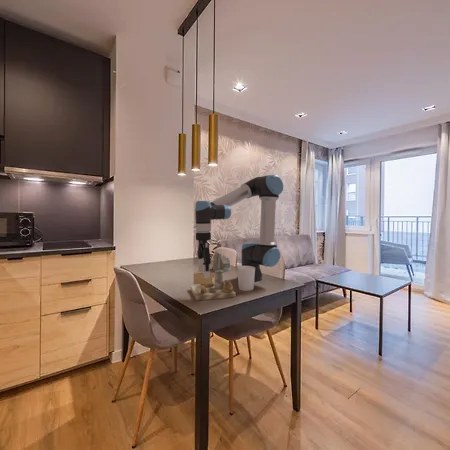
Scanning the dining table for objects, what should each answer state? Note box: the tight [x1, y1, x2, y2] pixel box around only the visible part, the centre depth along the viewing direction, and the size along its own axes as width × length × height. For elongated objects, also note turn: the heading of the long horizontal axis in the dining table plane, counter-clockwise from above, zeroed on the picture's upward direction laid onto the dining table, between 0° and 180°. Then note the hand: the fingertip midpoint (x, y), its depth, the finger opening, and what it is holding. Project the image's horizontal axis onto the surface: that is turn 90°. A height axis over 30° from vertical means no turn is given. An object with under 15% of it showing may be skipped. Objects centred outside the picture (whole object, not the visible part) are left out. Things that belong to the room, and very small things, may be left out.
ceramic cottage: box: [212, 249, 232, 273], centre depth 190 cm, size 16×16×15 cm
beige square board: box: [190, 270, 237, 301], centre depth 134 cm, size 20×18×11 cm
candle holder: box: [237, 265, 255, 292], centre depth 141 cm, size 10×10×12 cm
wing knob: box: [193, 272, 215, 293], centre depth 127 cm, size 3×10×10 cm, turn 88°
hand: (203, 274), depth 127 cm, fingers open, 13 cm apart
